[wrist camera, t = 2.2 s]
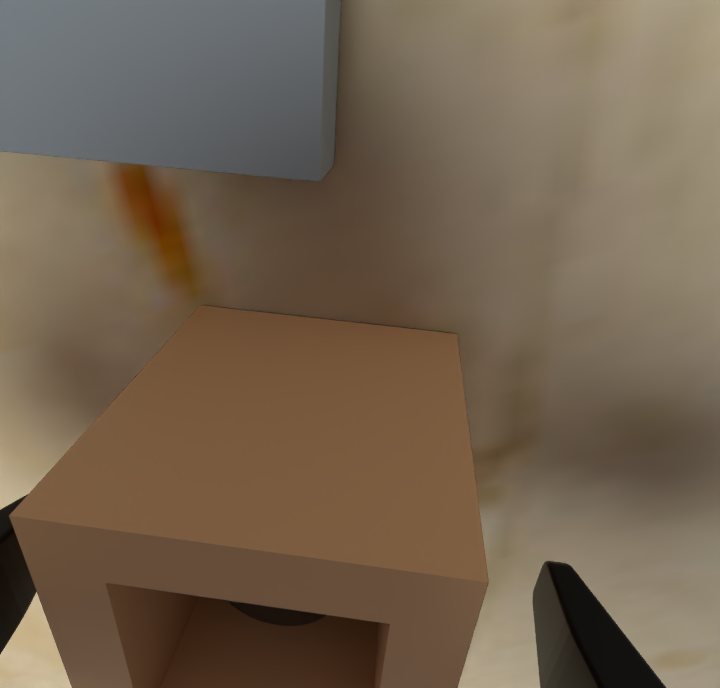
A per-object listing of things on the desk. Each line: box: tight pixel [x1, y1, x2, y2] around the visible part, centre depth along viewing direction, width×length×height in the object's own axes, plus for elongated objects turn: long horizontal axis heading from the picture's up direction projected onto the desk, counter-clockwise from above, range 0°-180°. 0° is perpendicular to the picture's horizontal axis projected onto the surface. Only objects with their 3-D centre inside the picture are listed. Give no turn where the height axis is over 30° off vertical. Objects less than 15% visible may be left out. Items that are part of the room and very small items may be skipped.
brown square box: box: [9, 305, 489, 688], centre depth 10 cm, size 6×6×6 cm
